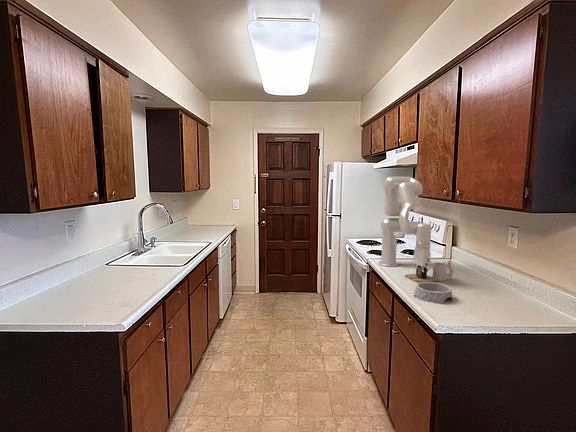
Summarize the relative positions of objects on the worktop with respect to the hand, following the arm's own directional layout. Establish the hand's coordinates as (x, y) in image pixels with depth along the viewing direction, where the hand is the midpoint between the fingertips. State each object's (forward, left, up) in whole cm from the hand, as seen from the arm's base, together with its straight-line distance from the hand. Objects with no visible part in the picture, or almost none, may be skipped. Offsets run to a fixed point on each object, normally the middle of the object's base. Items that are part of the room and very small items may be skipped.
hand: (421, 276), depth 195 cm
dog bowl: (+24, -10, -3) cm, 26 cm away
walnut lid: (0, 0, -1) cm, 1 cm away
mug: (+2, +12, -3) cm, 13 cm away
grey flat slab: (0, 0, -2) cm, 3 cm away
